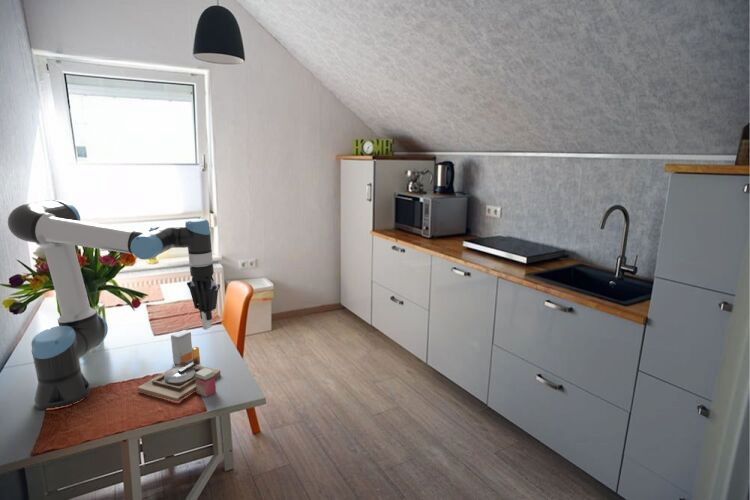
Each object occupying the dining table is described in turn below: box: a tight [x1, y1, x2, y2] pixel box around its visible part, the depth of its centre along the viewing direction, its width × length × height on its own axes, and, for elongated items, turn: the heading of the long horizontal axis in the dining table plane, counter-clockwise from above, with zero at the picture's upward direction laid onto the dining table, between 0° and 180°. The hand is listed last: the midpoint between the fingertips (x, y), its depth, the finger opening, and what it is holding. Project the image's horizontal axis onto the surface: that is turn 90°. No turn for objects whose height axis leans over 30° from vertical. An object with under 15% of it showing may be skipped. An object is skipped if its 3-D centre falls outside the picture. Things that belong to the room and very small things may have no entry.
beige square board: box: [137, 362, 221, 401], centre depth 155 cm, size 20×18×3 cm
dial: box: [164, 346, 201, 386], centre depth 155 cm, size 14×10×8 cm
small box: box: [195, 367, 217, 398], centre depth 148 cm, size 5×4×8 cm
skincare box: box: [170, 329, 193, 365], centre depth 170 cm, size 6×4×12 cm
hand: (207, 327), depth 155 cm, fingers closed
